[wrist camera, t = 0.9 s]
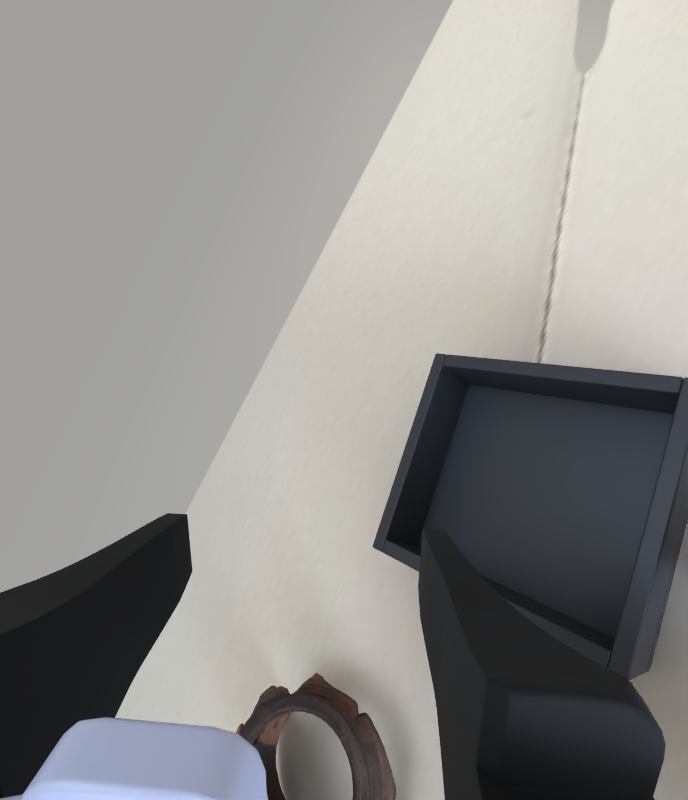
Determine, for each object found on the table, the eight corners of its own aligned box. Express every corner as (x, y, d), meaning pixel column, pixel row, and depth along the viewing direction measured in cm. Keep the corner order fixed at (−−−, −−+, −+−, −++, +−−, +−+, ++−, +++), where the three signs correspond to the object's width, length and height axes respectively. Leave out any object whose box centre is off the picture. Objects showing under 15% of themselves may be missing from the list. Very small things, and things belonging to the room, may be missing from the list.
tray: (715, 408, 20) (705, 378, 17) (649, 671, 19) (627, 682, 16) (466, 375, 29) (435, 353, 26) (410, 552, 28) (372, 546, 25)
